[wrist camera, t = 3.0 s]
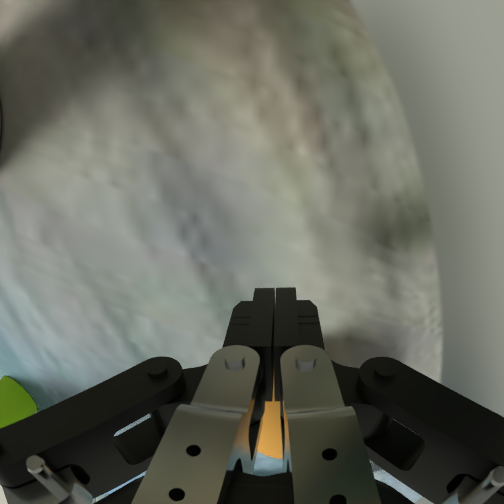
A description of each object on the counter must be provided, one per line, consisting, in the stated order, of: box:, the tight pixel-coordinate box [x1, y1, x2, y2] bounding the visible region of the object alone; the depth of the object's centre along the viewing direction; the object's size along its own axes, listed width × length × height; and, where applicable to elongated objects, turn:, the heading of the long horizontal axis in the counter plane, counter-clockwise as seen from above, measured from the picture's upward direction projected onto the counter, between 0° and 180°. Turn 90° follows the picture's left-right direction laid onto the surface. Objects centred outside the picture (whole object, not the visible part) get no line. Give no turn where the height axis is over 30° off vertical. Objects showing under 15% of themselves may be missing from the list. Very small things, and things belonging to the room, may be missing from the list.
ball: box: [257, 381, 282, 459], centre depth 16 cm, size 6×6×6 cm
